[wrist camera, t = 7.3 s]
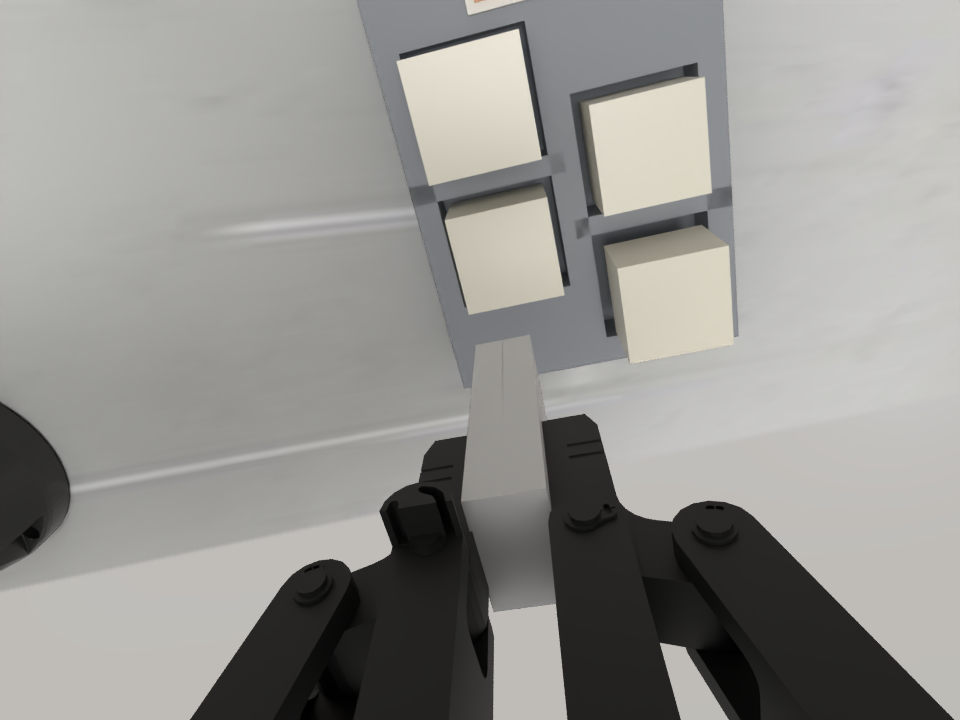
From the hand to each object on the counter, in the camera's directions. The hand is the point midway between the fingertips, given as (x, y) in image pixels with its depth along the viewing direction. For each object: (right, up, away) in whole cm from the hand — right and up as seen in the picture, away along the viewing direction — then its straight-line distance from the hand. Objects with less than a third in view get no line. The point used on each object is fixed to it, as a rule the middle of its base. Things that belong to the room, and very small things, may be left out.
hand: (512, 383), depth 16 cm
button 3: (+7, +12, +14) cm, 20 cm away
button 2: (+1, +7, +16) cm, 18 cm away
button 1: (+9, +5, +15) cm, 18 cm away
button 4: (-1, +13, +12) cm, 17 cm away
